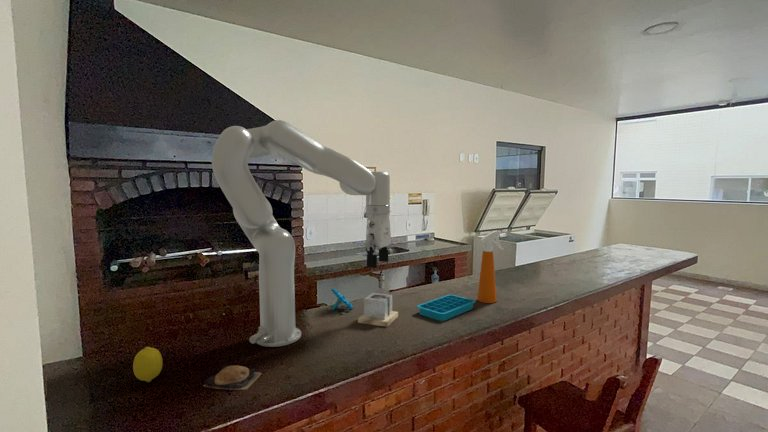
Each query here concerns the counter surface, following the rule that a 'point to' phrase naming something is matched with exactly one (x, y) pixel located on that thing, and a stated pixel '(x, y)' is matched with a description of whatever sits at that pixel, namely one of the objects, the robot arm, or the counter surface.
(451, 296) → the ice cube tray
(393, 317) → the keyed post stand
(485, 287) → the spray bottle
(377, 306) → the grey hollow block
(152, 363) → the lemon
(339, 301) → the gear
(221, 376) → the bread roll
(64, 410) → the counter surface
